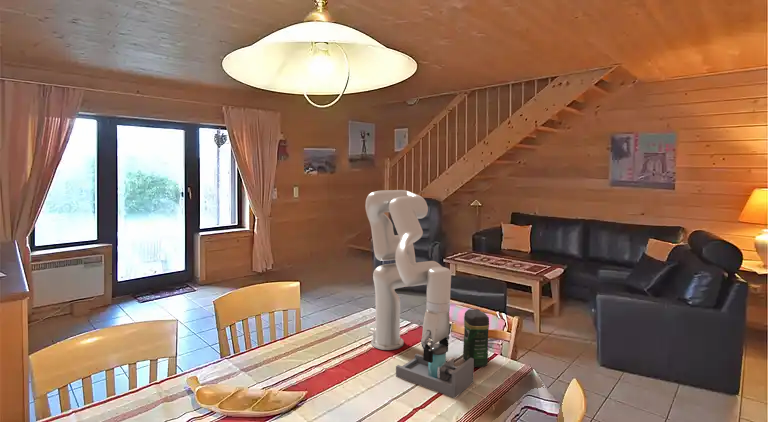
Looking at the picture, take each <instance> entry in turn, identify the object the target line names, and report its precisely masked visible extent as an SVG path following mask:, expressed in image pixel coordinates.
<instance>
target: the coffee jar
mask: <svg viewBox="0 0 768 422" xmlns="http://www.w3.org/2000/svg"><path fill="white" fill-rule="evenodd" d="M463 325H464V326H463V327H464V329H463V331H464V332H463V349H462V352H463V353H462V358H463V361H464V362H465V361H467V360H468V359H469V358H473V359H474V367H475V368H483V367H485V366H487V365H488V362H489V361H488V359H489V355H488V354H489V331H490V330H489V328H490V317H489V316H488V314H486V313H485V312H483V311H482V310H480V309H476V308H475V309H474V308H471V309H469V308H468V309H467V310H466V311H465V312H464V316H463Z"/></svg>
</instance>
